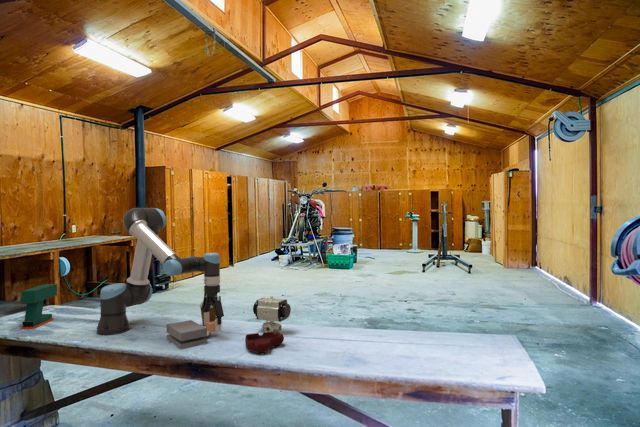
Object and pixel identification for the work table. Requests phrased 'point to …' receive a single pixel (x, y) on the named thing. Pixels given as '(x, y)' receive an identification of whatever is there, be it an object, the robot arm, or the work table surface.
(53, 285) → the power tool
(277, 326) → the ball valve
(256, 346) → the ashtray
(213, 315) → the disposable coffee cup
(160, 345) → the work table surface
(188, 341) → the block
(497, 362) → the work table surface
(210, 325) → the orange stepped block
